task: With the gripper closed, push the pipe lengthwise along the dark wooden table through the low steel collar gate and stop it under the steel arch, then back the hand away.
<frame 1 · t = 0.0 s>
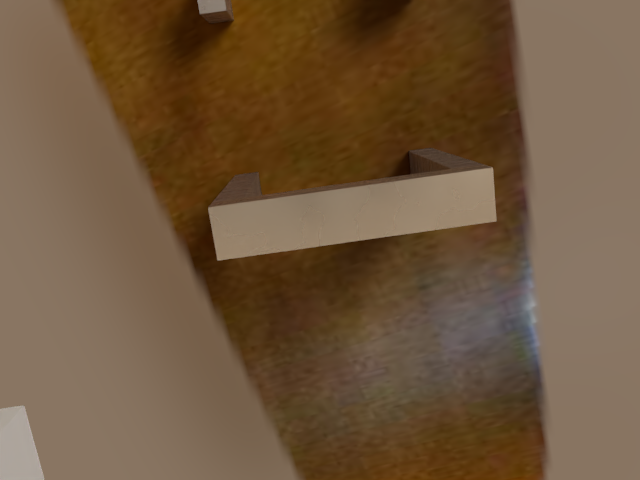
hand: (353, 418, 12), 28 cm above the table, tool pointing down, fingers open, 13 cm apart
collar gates: (323, 87, 38), on the table
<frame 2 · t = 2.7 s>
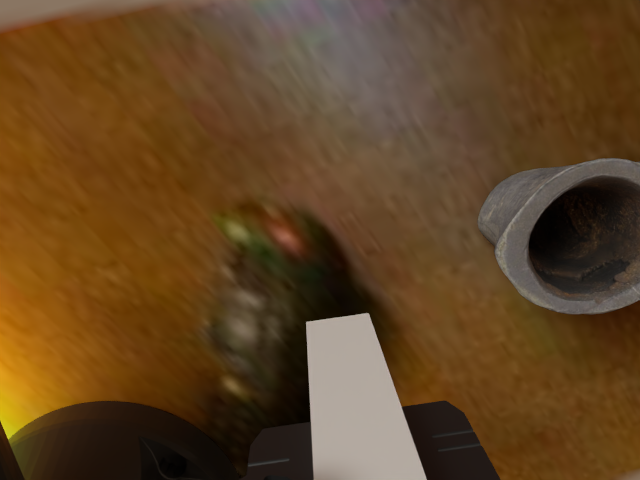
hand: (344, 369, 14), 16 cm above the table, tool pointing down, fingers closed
pipe: (567, 193, 30), on the table
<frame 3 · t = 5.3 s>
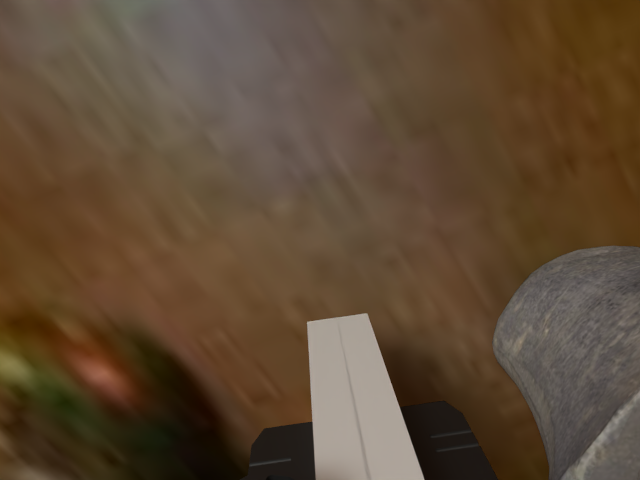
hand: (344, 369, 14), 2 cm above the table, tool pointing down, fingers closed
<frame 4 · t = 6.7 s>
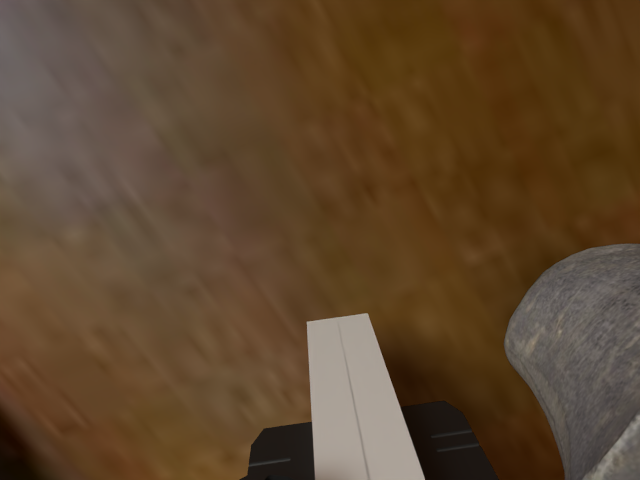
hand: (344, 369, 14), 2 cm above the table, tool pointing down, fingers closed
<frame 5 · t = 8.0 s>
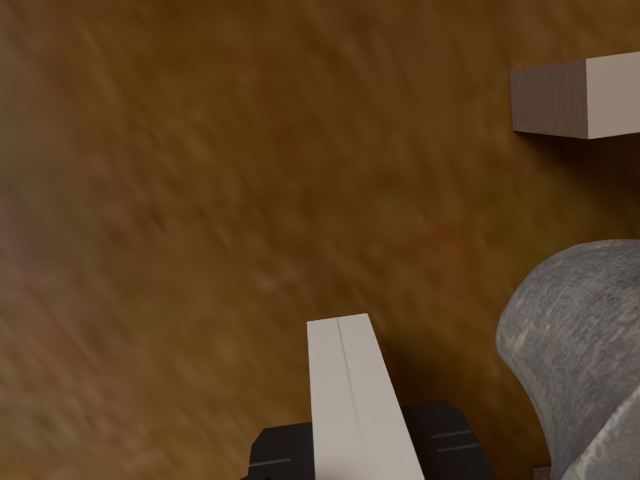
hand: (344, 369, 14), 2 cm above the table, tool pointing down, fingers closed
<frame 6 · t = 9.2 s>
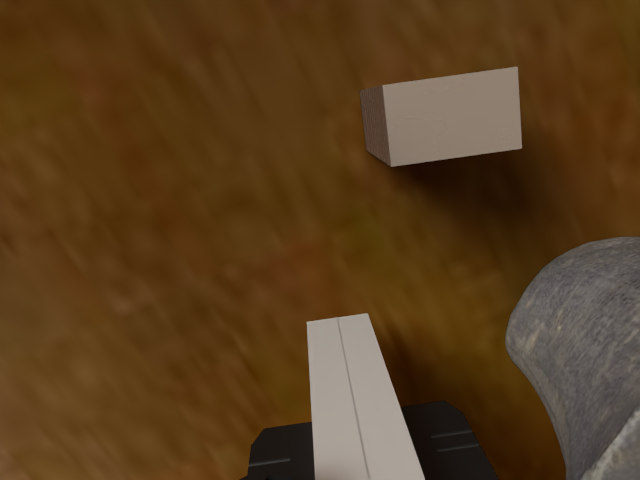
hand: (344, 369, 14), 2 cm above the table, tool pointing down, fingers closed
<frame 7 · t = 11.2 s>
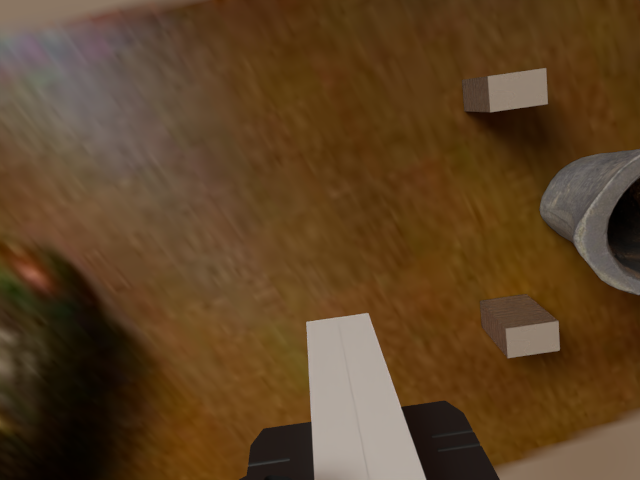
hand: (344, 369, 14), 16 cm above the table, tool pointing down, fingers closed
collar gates: (611, 189, 30), on the table
pipe: (626, 177, 31), on the table
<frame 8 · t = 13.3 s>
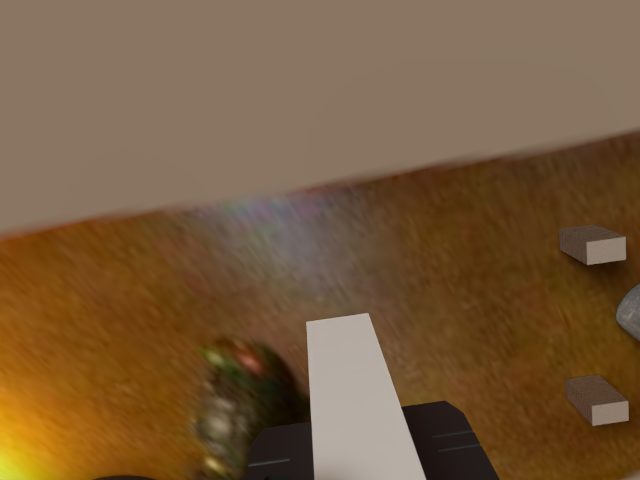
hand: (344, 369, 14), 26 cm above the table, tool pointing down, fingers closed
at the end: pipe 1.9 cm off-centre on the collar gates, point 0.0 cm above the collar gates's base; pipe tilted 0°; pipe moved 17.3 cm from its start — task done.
